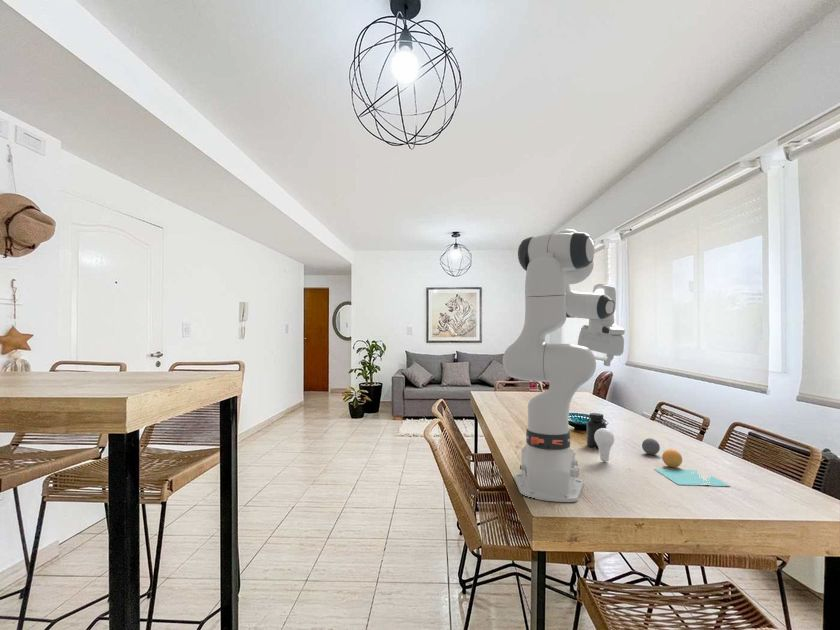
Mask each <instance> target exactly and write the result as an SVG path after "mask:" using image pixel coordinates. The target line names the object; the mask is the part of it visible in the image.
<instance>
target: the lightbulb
mask: <svg viewBox="0 0 840 630" xmlns="http://www.w3.org/2000/svg"><path fill="white" fill-rule="evenodd" d="M594 439H595V441H596V443H597V445H598V448H599V449H598V448H597V449H598V453H599V456H600V457H599V459H600V461H602V462H603V463H607V462H609V460H610V453H611V448H612V446H613V445H614V443H615V435H614V433H613V432H612V430H610V429H608V428H607V427H606V428H601V429H598V430H597V431H596V432H595V434H594Z"/></svg>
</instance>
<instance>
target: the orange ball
mask: <svg viewBox="0 0 840 630" xmlns="http://www.w3.org/2000/svg"><path fill="white" fill-rule="evenodd" d="M661 457H662V458H661V459H662V462H663V463H664V464H665V466H668V467H670V468H678V467H679V466H681V464H682V463H683V457H682V455H681V453H680V452H679V451H678V450H675V449H674V448H673V449H671V448H669V449H666V450H664V451H663V453H662V456H661Z"/></svg>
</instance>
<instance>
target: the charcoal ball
mask: <svg viewBox="0 0 840 630" xmlns="http://www.w3.org/2000/svg"><path fill="white" fill-rule="evenodd" d="M660 446H661V445H660V444H659V442H658V441H657V440H656V439H654V438H646V439H644V440H643V441H642V444H641V447H642V450H643V452H645V454H647V455H651V456H652V455H653V456H654V455H657V454H658V453H659V452H660V450H661V447H660Z"/></svg>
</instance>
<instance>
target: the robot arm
mask: <svg viewBox="0 0 840 630" xmlns="http://www.w3.org/2000/svg"><path fill="white" fill-rule="evenodd" d="M595 249H596V248H595V242H594V240H593V238H592V237H591V235H590V234H588V233H587V232H583V231H582V232H581V231H576V230H575V229H572V228H571V229H570V228H569V229H568V228H566V229H562V230H560V231H557V233H553V232H552V233H547V234H542V235H537V236H531V237H526V238H525V239H522V241H521V243H520V244H519V245H518V250H517V259H518V262H519V264H520V266H521V268H522V269H523V270H525V271H526V273H525V280H524V281H525V282H524V288H525V289H524V301H525V302H524V304H525V305H524V306H525V312H524V313H525V314H524V324H523V327H522V330H521V332H520V334H519V336H518V337H517V338H516V339H515V341H514V342H513V343H512V344H510V345H509V346H508V347H507V348H506V349H505V351H504V353H503V356H502V367H503V370H504V371H505V374H507V375H508V377H510V378H513V379H518V380H522V381H525V382H527V381H529V382H531V381H532V382H547V383H548V384H549V385H548V386H549V387H548V389H547V390H546V391H544V392H541V393H539V394H538V395H535V396H534V397H532V398H531V399H529V402H528V404H527V428H526V433H525V439H526V444H525V445H524V446H523V447H522V448H521V453H520V454H521V455H520V458H521V459H520V460H521V462H520V463H521V464H520V466H519V468H520V472H515V473H514V476H513V479H514V481H515V484H516V486H517V489H518V491H519V494H520V493H521V494H523V495H526V496H528V497H527V498H529V497H532V498H531V499H533V498H535V499H534V500H538V501H547V502H554V503H555V502H557V503H575V502H578V501H579V498H580V496H581V494H582V491H583V487H584V485H585V484H584V480H583V479H581V478H579V474H580V473H579V468H577V466H578V460H576V452H575V451H574V450H572V449H571V433H570V431H569V417H570V415H569V414H570V413H569V412H570V405H571V402H572V398H573V397H574V396H575V394H576V392H577V391H578V389H579V388H581V387H582V386H583V385H584V384H585V383H587V382H588V381H589V380H591V379H592V378H593V376H594V375H595V372H596V369H597V360H596V357H595V355H594V353H593V352H597V353H600V354H601V353H602V354H605V355H606V359H605V360H603V366H605V367H610V366H611V363H612V361H613V359H614V357H617V356H618V357H620V356H622V355H623V353H624V346H625V338H624V335H625V332H626V331H625V329H624V328H623V327H620V326H619V325H617V324H616V323H615V316H614V315H615V311H616V307H617V292H616V287H615V286H614V285H611V284H604V283H602V284H601V283H598V284H595V285H594V286H593V289H592V292H584V291H583V292H582V291H574V290H571V287H570V285H575V284H579V283H582V282H583V281H585V280H586V279H588V277H589V276H590V275H591V274H592V272H593V269H594V256H595ZM567 318H568V319H570V318H572V319H573V318H576V319H584V320H585V319H586V320H588V325H587V324H584V325H582V326H581V327H580V328H581V329H580V331H579V334H578V340H577V344H573V343H547V342H546V336H547V335H548V334H551V333H553V332H555V331H557V330H558V329H560V328H561V327H563V326H564V324H565V323H566V321H567ZM521 494H520V495H521Z"/></svg>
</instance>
